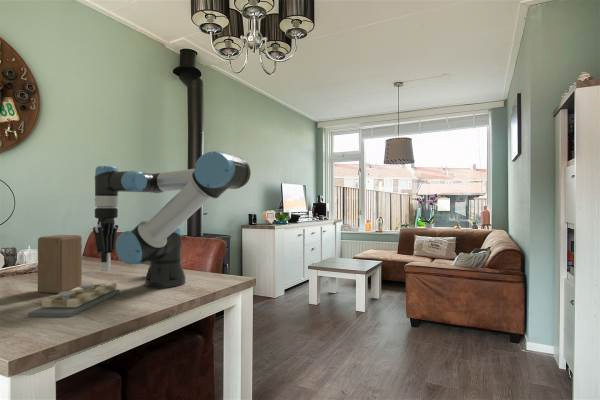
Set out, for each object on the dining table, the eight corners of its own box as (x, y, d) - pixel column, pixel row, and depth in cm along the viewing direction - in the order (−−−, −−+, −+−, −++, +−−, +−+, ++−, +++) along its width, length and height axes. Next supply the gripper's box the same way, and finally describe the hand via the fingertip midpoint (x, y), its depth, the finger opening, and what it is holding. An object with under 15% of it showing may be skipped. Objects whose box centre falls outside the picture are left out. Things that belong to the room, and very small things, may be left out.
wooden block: (59, 294, 122) (59, 237, 122) (36, 293, 124) (36, 237, 124) (82, 287, 132) (82, 234, 132) (60, 286, 134) (60, 234, 134)
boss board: (85, 292, 124) (85, 278, 124) (119, 292, 124) (119, 278, 124) (28, 316, 98) (28, 298, 98) (70, 316, 98) (70, 298, 98)
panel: (88, 288, 124) (88, 283, 124) (116, 288, 124) (116, 283, 124) (42, 307, 102) (42, 300, 102) (75, 307, 102) (75, 300, 102)
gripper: (106, 207, 137) (105, 267, 136) (85, 207, 124) (84, 274, 123) (125, 207, 137) (124, 267, 136) (106, 207, 123) (105, 274, 123)
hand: (105, 270), depth 130 cm, fingers closed
